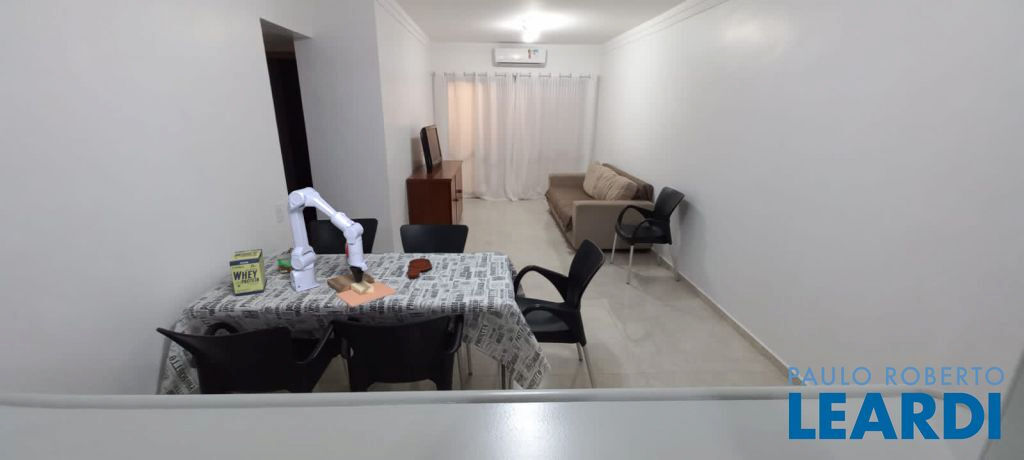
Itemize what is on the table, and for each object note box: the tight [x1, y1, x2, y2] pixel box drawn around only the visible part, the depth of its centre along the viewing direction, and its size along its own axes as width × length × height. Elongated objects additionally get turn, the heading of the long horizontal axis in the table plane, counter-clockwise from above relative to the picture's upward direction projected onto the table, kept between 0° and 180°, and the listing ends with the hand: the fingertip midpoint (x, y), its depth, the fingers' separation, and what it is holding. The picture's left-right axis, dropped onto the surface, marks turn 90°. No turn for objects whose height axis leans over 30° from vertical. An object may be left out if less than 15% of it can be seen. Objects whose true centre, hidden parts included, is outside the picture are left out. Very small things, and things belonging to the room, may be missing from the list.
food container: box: [276, 247, 295, 275], centre depth 201 cm, size 12×6×10 cm, turn 179°
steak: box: [406, 257, 433, 280], centre depth 199 cm, size 12×20×4 cm, turn 176°
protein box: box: [228, 248, 268, 298], centre depth 179 cm, size 10×16×16 cm
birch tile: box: [351, 281, 374, 296], centre depth 178 cm, size 6×9×2 cm, turn 45°
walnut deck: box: [326, 272, 375, 294], centre depth 186 cm, size 16×13×2 cm
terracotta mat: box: [335, 281, 398, 307], centre depth 176 cm, size 20×16×1 cm
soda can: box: [344, 240, 351, 266], centre depth 210 cm, size 7×7×12 cm
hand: (358, 281), depth 179 cm, fingers closed
